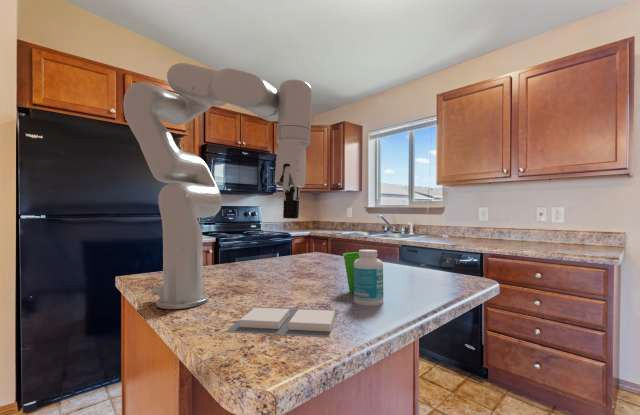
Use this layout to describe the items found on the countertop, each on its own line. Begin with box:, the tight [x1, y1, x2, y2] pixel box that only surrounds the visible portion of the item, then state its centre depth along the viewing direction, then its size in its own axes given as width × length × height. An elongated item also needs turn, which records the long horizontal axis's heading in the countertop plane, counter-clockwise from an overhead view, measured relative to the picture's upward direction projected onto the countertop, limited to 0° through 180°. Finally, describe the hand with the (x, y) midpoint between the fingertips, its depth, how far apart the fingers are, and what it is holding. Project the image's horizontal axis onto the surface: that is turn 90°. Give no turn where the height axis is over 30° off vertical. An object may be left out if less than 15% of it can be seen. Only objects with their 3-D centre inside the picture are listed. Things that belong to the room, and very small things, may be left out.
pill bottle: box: [353, 249, 384, 307], centre depth 79 cm, size 8×7×14 cm
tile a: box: [239, 307, 290, 329], centre depth 65 cm, size 8×2×8 cm
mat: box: [225, 306, 339, 338], centre depth 66 cm, size 20×16×1 cm
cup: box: [342, 251, 360, 295], centre depth 90 cm, size 9×9×11 cm
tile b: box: [289, 308, 336, 332], centre depth 63 cm, size 8×2×8 cm
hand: (290, 218), depth 71 cm, fingers closed
